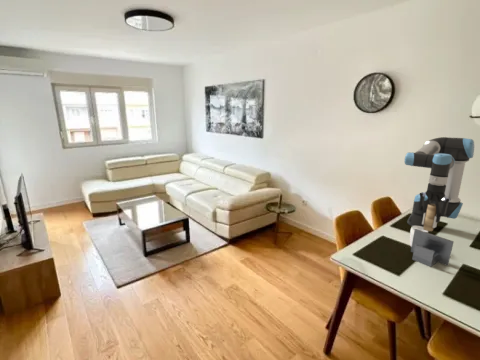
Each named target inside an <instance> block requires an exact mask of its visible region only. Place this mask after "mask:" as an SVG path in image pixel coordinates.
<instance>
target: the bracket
mask: <svg viewBox="0 0 480 360" xmlns="http://www.w3.org/2000/svg"><path fill="white" fill-rule="evenodd" d="M454 243H455V242H454V240H451V239H447V238H445V237H442V236H439V235H436V234H432V233H429V232H428V233H427V232H423V231H420V230H417V229H415V231H414V236H413V242H412V247H411V246H410V252H411V253H412V259H411V260H413V261H414V262H418V263H420V264H422V265H424V266H426V267H430V268H431V267H433V266H434V265H435V264H436V263H438V264H441V265H444V266H446V267H448V266H449V264H450V259H451V255H452V250H453V246H454Z"/></svg>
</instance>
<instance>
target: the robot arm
mask: <svg viewBox="0 0 480 360" xmlns="http://www.w3.org/2000/svg"><path fill="white" fill-rule="evenodd" d="M474 154H475V141H474V140H473V139H472V138H465V137H446V136H445V137H444V136H443V137H440V136H439V137H436V138H432V139H429V140H427V141H425V143H423V145H422V147H421V148H419V149H418V150H416V151H415V152H407V153H406V154H405V157H404V165H406V166H409V167H410V166H411V167H416V168H417V167H419V168H424V169H425V168H427V169H430V174H429V177H428V184H427V187H426V191H424V192H422V191H421V192H419V193H418V194H415V196H414V200H413V206H412V210H411V211H412V212H411V214H410V215H409V217H408V219H407V221H406V222H407V225H409V226H411V227H412V226H422V227H423V226H424V221H425V216H426V211H427V206H428V204H435V205H436V213H437V214H436V216H435V217H434V222H433V227H432V228H433V229H435V228H437V224H438V223H440V221H441V218H442V217H444V218H447V219H454V220H456V219H457V218H458V216H459V214H460V212H461V209H462V207H463V205H464V203H463V202H461V198H460V197H459V195H460V191H461V185H462V181H463V175H464V171H465V166H466V163H467V162H469V161H470V159H472V158H473V157H474V156H475V155H474Z"/></svg>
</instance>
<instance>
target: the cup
mask: <svg viewBox="0 0 480 360" xmlns="http://www.w3.org/2000/svg"><path fill="white" fill-rule="evenodd" d="M415 229H417V230H420V231H423V232H427V233H429V232H430V231H426V230H424V229H423V227H422V226H411V228H410V231H409V245H410V248H411V247H412V242H413V236H414V231H415Z"/></svg>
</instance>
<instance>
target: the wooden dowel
mask: <svg viewBox="0 0 480 360" xmlns="http://www.w3.org/2000/svg"><path fill="white" fill-rule="evenodd" d="M436 214H437V213H436V205H435V204H428V206H427V211H426V216H425V221H424V226H423V229H424V230H426V231H429V232H433V231H434V228H432V227H433V222H434V217H435V216H436Z"/></svg>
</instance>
